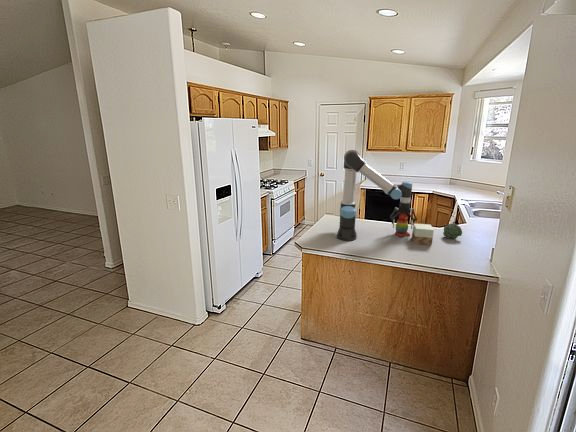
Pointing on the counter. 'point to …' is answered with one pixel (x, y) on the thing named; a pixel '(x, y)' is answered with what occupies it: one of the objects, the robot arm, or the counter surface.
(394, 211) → the robot arm
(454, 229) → the vegetable
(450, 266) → the counter surface
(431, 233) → the upper slab
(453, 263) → the counter surface
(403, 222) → the stacking bear
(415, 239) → the lower slab
